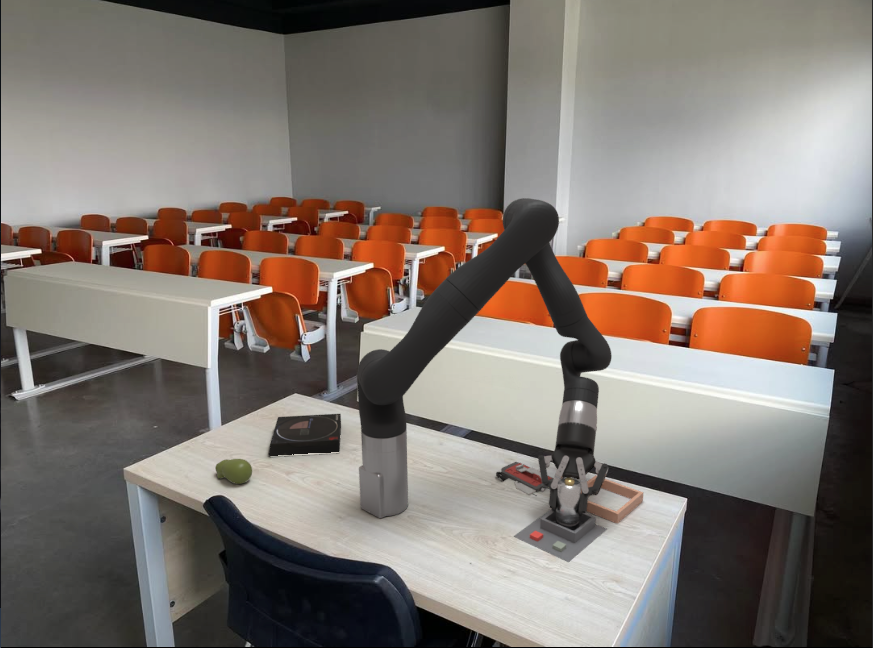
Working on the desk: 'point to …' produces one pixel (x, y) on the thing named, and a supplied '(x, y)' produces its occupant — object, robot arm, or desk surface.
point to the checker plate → (561, 535)
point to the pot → (618, 489)
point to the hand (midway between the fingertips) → (567, 512)
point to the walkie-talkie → (523, 477)
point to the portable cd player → (306, 435)
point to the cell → (568, 503)
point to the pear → (234, 470)
